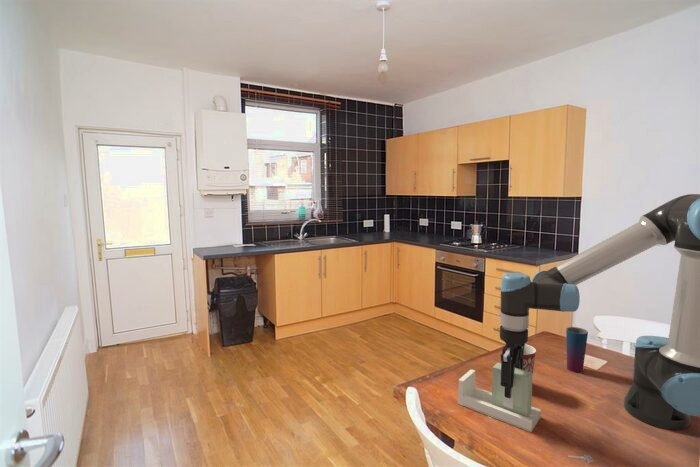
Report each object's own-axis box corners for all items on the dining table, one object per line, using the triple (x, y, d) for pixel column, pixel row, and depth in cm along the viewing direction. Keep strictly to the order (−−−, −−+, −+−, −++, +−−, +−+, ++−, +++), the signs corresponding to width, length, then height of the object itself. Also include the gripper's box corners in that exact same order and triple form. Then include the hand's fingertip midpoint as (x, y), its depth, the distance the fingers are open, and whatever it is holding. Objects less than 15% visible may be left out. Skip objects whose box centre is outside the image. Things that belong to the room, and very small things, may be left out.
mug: (540, 390, 125) (542, 351, 123) (518, 395, 122) (519, 355, 121) (514, 372, 137) (515, 337, 135) (493, 376, 134) (494, 340, 133)
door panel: (531, 411, 109) (532, 372, 108) (526, 418, 106) (528, 378, 105) (496, 399, 116) (497, 362, 115) (491, 405, 113) (492, 367, 112)
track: (540, 417, 110) (541, 391, 109) (531, 432, 103) (532, 405, 103) (470, 392, 124) (471, 369, 123) (458, 403, 118) (458, 379, 117)
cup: (585, 367, 140) (588, 329, 138) (585, 375, 134) (588, 335, 132) (564, 363, 143) (566, 325, 142) (563, 370, 138) (565, 331, 136)
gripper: (511, 316, 117) (508, 387, 120) (489, 332, 104) (487, 411, 107) (536, 321, 112) (533, 395, 115) (517, 339, 99) (514, 421, 102)
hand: (511, 402), depth 111 cm, fingers closed on door panel, 4 cm apart
